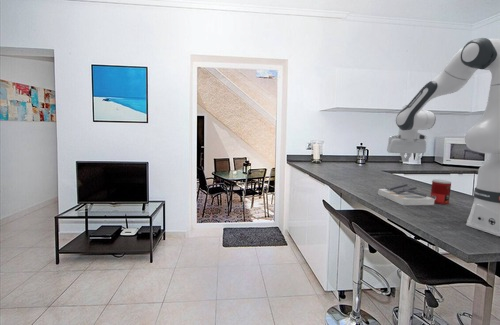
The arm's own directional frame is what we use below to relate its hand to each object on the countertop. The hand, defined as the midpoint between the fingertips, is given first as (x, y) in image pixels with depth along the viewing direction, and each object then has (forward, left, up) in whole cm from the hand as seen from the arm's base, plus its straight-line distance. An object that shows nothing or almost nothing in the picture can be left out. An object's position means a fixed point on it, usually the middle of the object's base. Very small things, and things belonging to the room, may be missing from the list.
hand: (405, 161), depth 155 cm
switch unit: (-7, +3, -19) cm, 20 cm away
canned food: (-13, -12, -19) cm, 26 cm away
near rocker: (-14, +3, -14) cm, 20 cm away
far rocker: (0, +3, -14) cm, 15 cm away
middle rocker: (-7, +3, -14) cm, 16 cm away
